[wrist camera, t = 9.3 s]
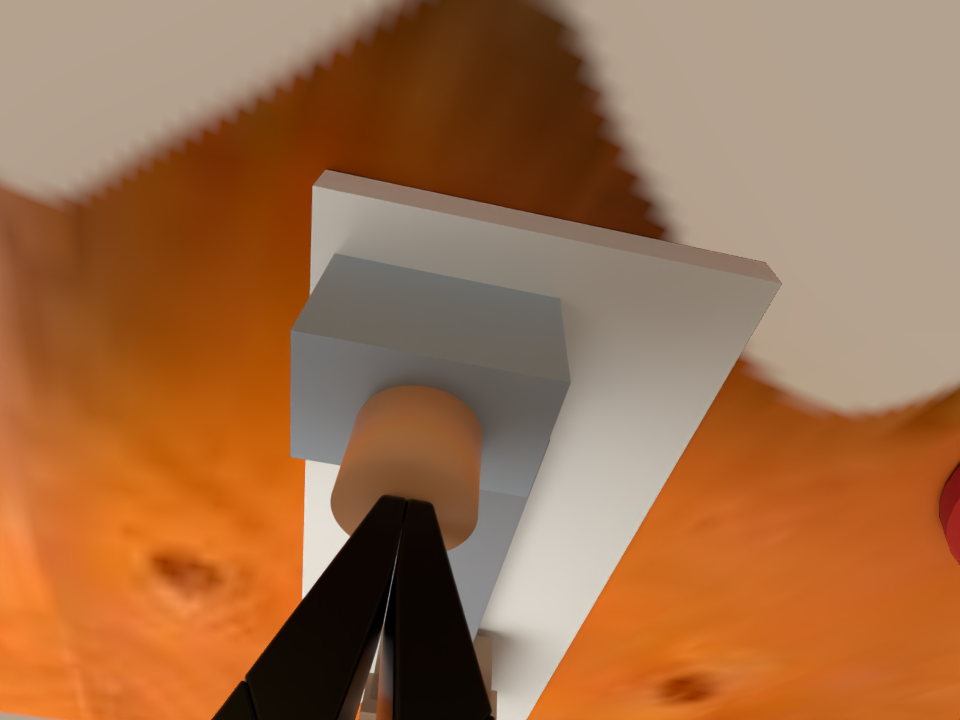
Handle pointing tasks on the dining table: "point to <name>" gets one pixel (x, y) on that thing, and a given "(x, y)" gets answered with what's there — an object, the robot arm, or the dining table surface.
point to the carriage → (485, 661)
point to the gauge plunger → (413, 459)
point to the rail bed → (607, 410)
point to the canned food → (951, 513)
